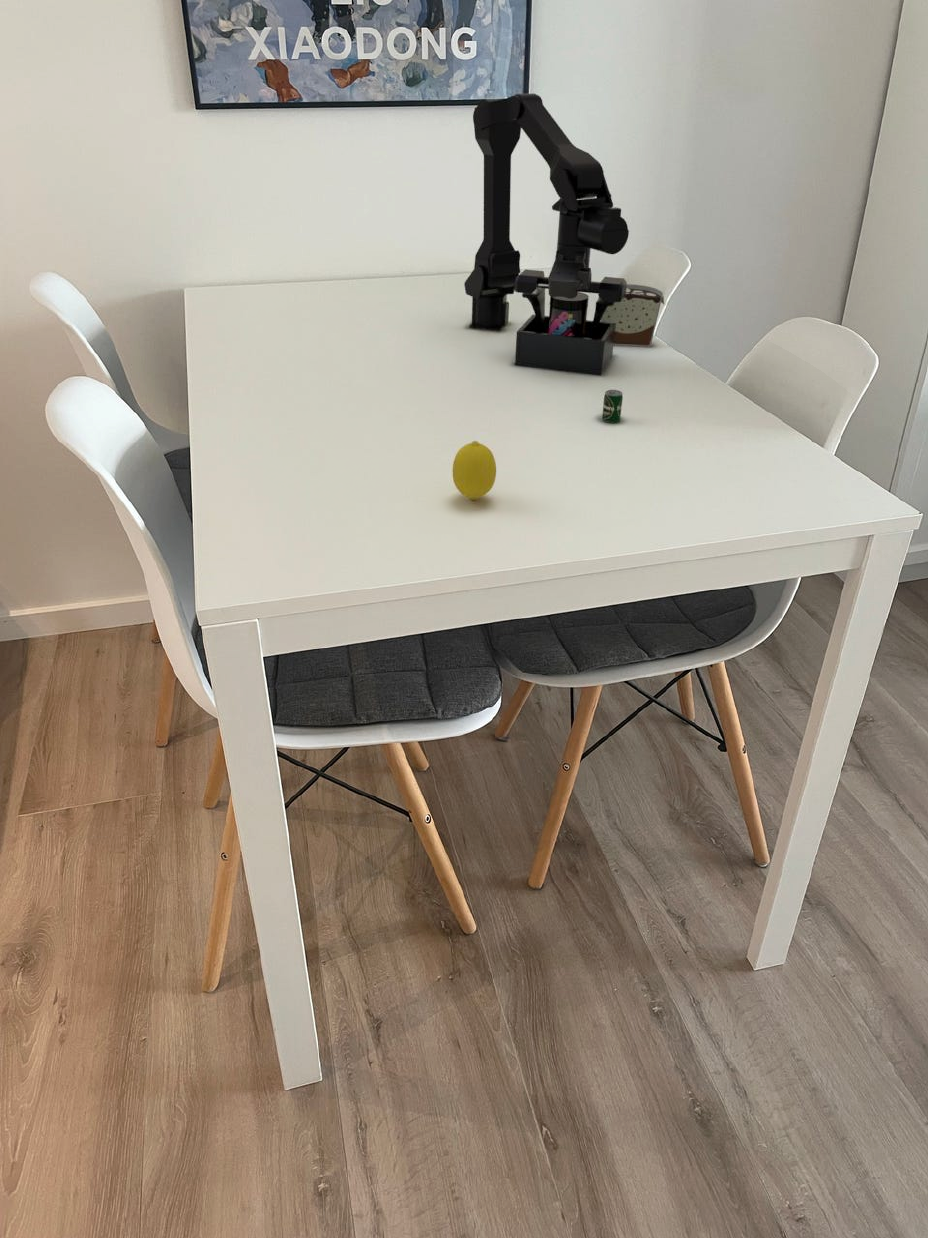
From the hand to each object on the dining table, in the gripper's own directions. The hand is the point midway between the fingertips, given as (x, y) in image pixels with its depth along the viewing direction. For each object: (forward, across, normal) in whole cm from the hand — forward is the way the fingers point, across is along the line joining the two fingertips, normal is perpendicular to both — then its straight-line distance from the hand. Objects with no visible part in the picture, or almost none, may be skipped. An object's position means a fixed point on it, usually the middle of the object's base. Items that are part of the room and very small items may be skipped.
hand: (566, 335), depth 163 cm
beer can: (+5, +13, -26) cm, 29 cm away
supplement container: (+4, 0, 0) cm, 4 cm away
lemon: (+5, +1, -60) cm, 60 cm away
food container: (+5, +8, +16) cm, 19 cm away
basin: (+5, 0, 0) cm, 5 cm away
